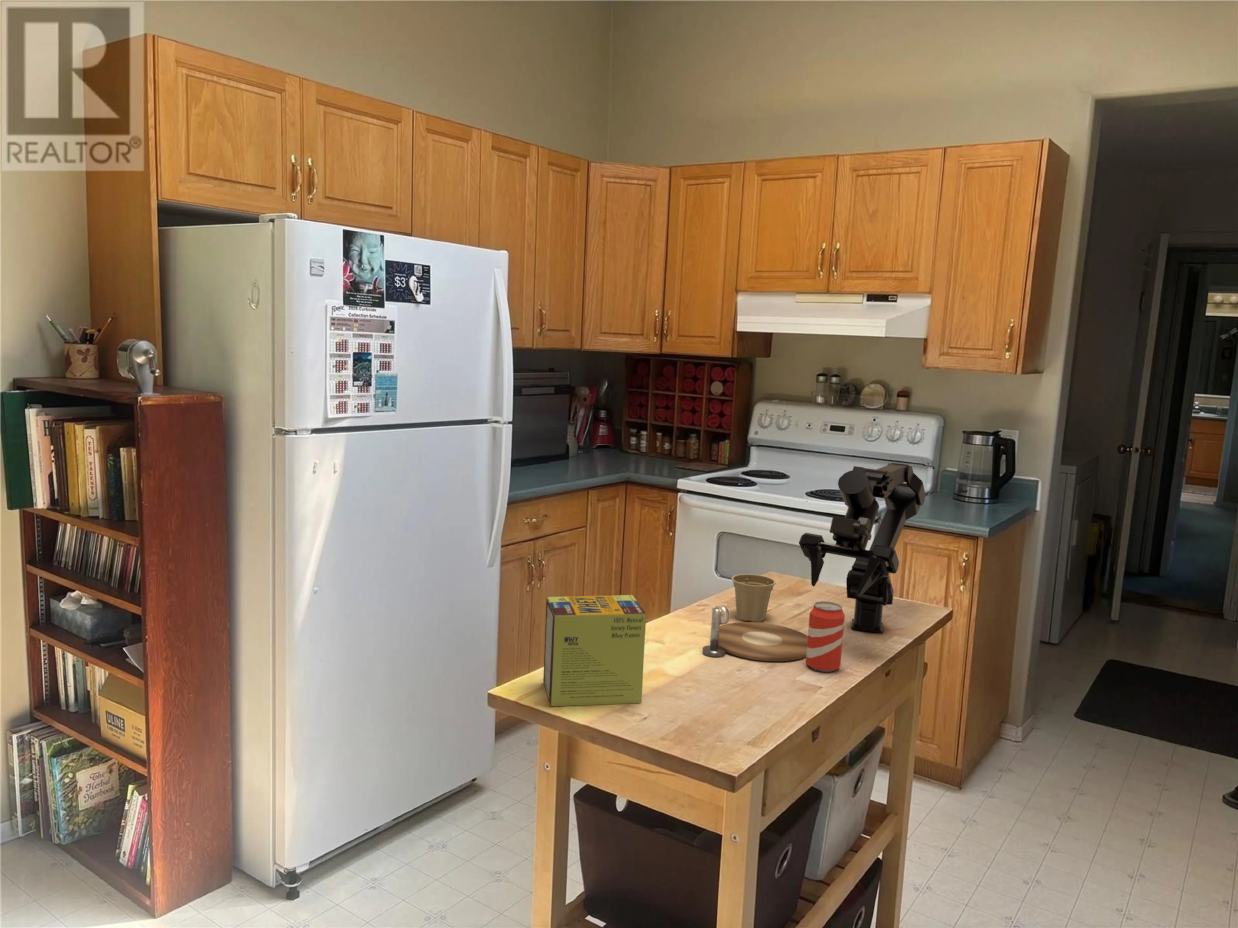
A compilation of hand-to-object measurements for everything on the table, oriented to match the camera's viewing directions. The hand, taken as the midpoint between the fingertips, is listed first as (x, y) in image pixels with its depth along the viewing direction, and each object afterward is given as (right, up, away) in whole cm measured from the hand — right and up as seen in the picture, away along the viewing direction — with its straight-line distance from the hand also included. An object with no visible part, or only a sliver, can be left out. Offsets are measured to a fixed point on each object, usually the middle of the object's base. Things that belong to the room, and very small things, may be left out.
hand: (835, 589), depth 173 cm
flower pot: (-13, -9, +23) cm, 28 cm away
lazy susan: (-13, -12, +7) cm, 19 cm away
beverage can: (-3, -14, -4) cm, 15 cm away
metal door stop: (-23, -12, 0) cm, 26 cm away
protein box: (-46, -15, -21) cm, 53 cm away
